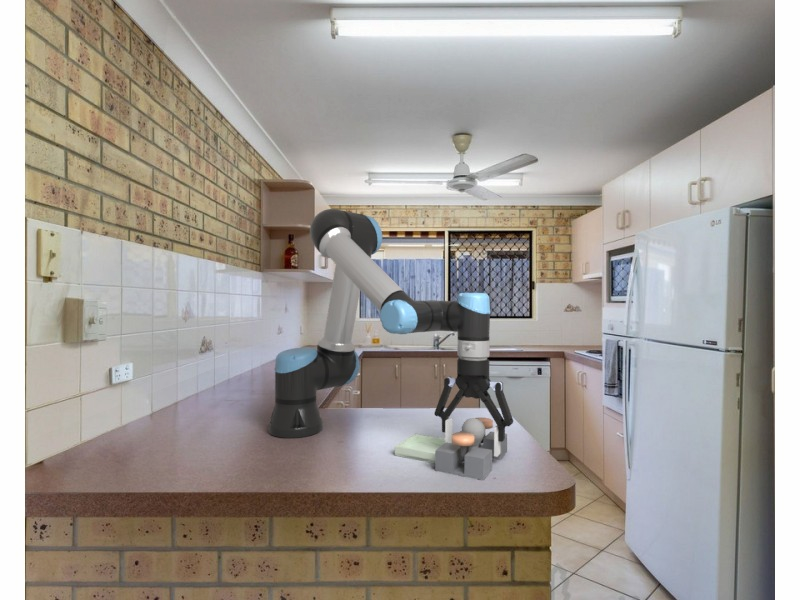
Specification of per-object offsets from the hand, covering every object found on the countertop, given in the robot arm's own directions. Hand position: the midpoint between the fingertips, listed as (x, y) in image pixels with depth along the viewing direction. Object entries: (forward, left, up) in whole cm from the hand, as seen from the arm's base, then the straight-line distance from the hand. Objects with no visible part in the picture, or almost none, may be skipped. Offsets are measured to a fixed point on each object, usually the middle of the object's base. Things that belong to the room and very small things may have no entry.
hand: (472, 450), depth 104 cm
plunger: (0, -7, 0) cm, 7 cm away
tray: (-12, 0, -2) cm, 12 cm away
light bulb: (0, 0, -3) cm, 3 cm away
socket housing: (0, 0, -2) cm, 2 cm away
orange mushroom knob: (0, +7, 0) cm, 7 cm away
